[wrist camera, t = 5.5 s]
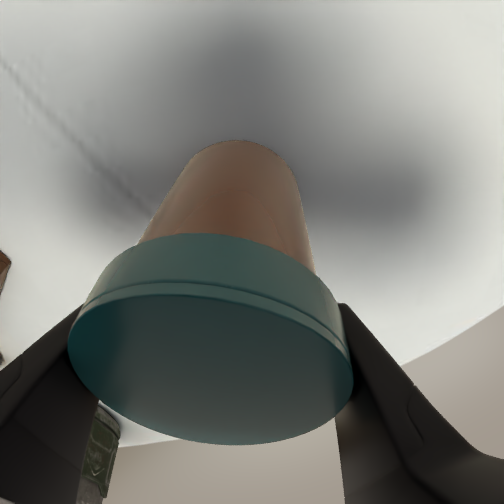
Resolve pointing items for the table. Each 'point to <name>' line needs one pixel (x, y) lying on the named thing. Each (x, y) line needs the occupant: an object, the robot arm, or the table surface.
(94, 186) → the table surface
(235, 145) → the jar
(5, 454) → the robot arm
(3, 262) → the tray
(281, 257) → the lid
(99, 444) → the canister
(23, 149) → the table surface
